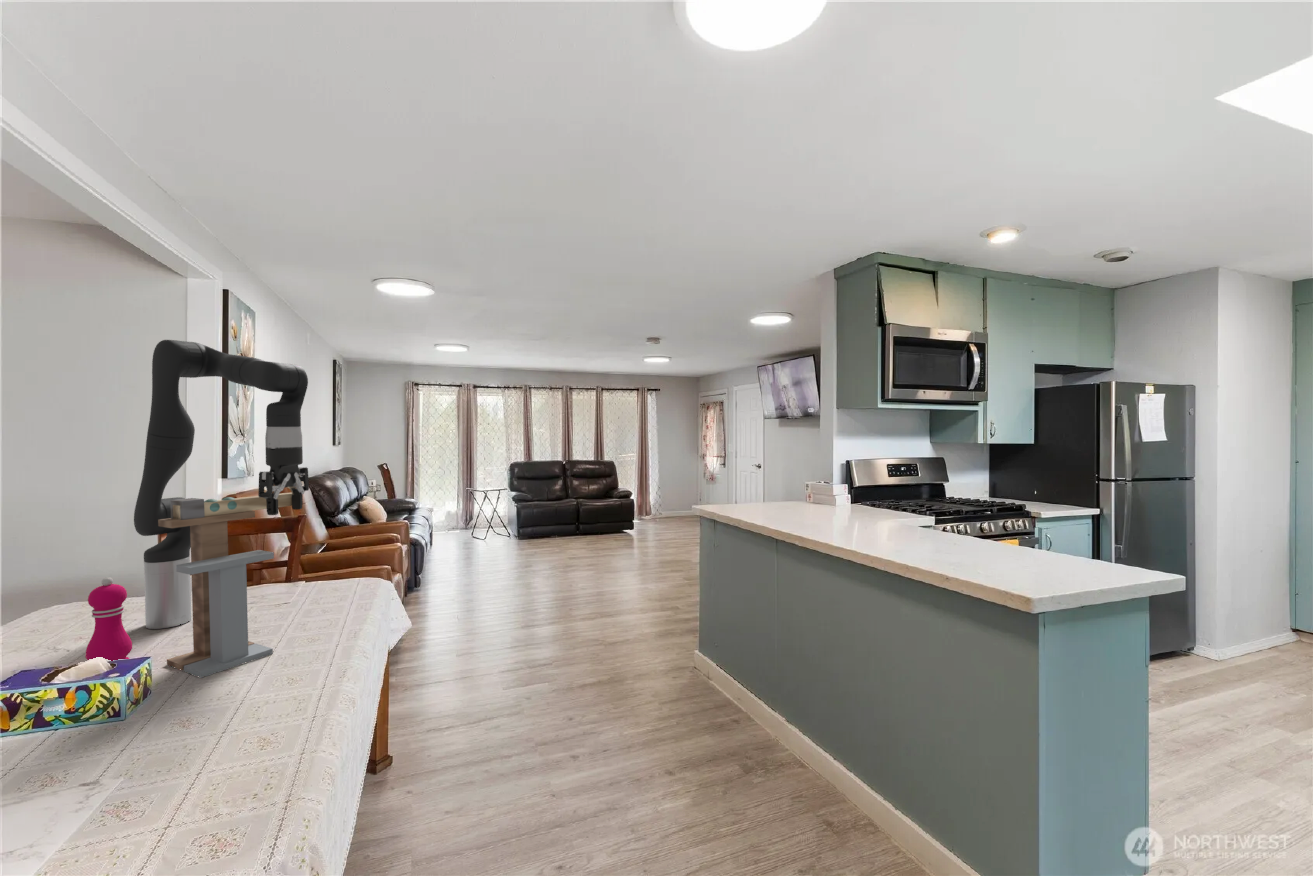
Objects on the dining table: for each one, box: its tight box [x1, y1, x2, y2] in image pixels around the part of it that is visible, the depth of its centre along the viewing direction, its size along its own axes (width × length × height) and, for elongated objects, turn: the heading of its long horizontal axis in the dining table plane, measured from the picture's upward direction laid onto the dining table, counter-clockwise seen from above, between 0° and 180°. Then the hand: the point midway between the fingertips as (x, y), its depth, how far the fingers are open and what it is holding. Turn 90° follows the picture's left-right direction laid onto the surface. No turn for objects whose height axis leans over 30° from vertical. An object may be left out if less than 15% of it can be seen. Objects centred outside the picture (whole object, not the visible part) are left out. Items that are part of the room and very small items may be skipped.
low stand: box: [176, 549, 275, 679], centre depth 125 cm, size 7×16×23 cm, turn 152°
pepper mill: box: [85, 577, 133, 661], centre depth 121 cm, size 7×7×20 cm
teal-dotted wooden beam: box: [170, 492, 294, 520], centre depth 134 cm, size 5×25×4 cm, turn 153°
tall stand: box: [158, 510, 256, 671], centre depth 128 cm, size 7×16×32 cm, turn 152°
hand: (285, 512), depth 138 cm, fingers open, 8 cm apart
